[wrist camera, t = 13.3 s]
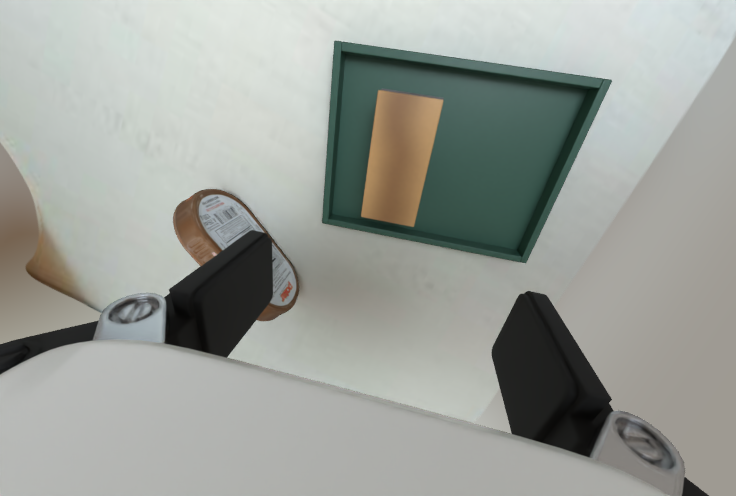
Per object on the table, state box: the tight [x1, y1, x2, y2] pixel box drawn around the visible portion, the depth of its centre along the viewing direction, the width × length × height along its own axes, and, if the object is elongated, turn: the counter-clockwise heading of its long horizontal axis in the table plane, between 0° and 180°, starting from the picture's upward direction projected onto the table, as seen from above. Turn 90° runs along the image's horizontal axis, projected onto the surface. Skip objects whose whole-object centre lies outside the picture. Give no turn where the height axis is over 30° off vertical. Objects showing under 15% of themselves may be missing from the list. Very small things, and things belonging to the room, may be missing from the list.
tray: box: [322, 41, 612, 263], centre depth 25 cm, size 20×15×2 cm
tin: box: [173, 189, 299, 321], centre depth 29 cm, size 15×3×8 cm, turn 33°
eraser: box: [361, 88, 444, 227], centre depth 24 cm, size 5×10×5 cm, turn 172°
